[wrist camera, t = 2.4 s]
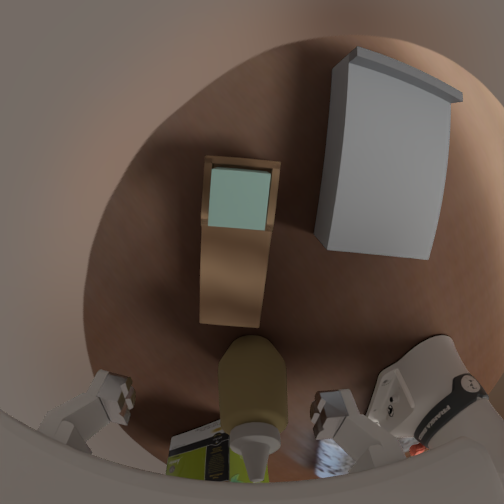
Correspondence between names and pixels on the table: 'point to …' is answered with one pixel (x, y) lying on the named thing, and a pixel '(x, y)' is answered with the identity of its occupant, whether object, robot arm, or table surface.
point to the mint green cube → (238, 198)
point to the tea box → (207, 456)
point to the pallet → (234, 255)
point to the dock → (384, 157)
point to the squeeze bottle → (253, 400)
